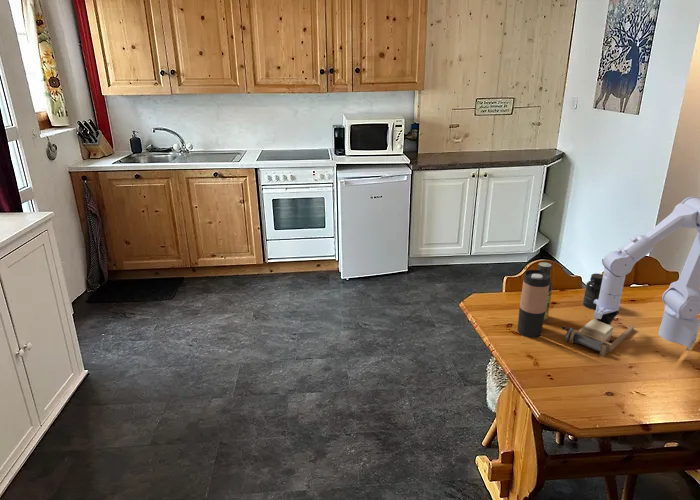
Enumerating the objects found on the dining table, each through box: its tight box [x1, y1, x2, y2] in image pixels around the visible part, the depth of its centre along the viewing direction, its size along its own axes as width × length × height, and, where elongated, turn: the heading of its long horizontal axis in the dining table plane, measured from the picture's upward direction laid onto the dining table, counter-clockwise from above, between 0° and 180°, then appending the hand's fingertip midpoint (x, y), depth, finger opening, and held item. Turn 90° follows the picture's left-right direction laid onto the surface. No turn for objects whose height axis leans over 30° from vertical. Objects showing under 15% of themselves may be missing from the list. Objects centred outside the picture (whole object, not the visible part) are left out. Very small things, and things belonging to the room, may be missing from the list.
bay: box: [573, 316, 635, 354], centre depth 151 cm, size 11×19×4 cm, turn 133°
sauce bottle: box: [537, 261, 553, 323], centre depth 158 cm, size 6×6×20 cm
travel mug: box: [517, 269, 552, 339], centre depth 151 cm, size 8×8×20 cm
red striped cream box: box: [583, 318, 614, 343], centre depth 147 cm, size 6×6×5 cm
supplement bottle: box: [582, 272, 603, 311], centre depth 167 cm, size 7×7×12 cm
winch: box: [561, 325, 608, 357], centre depth 145 cm, size 13×4×5 cm, turn 43°
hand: (602, 330), depth 150 cm, fingers closed
